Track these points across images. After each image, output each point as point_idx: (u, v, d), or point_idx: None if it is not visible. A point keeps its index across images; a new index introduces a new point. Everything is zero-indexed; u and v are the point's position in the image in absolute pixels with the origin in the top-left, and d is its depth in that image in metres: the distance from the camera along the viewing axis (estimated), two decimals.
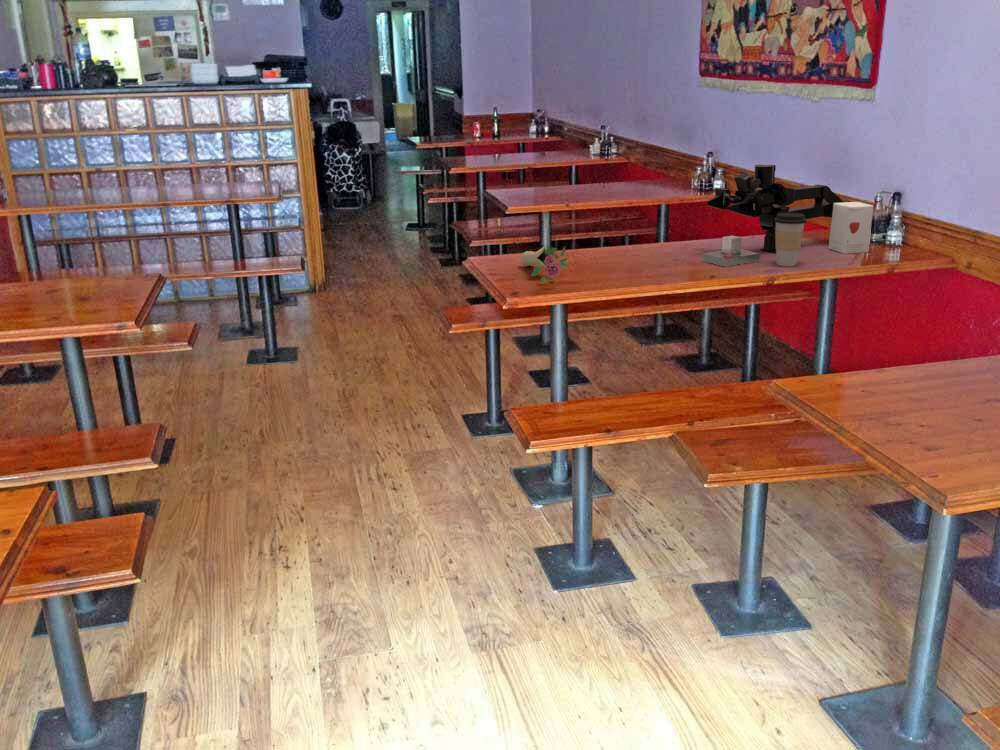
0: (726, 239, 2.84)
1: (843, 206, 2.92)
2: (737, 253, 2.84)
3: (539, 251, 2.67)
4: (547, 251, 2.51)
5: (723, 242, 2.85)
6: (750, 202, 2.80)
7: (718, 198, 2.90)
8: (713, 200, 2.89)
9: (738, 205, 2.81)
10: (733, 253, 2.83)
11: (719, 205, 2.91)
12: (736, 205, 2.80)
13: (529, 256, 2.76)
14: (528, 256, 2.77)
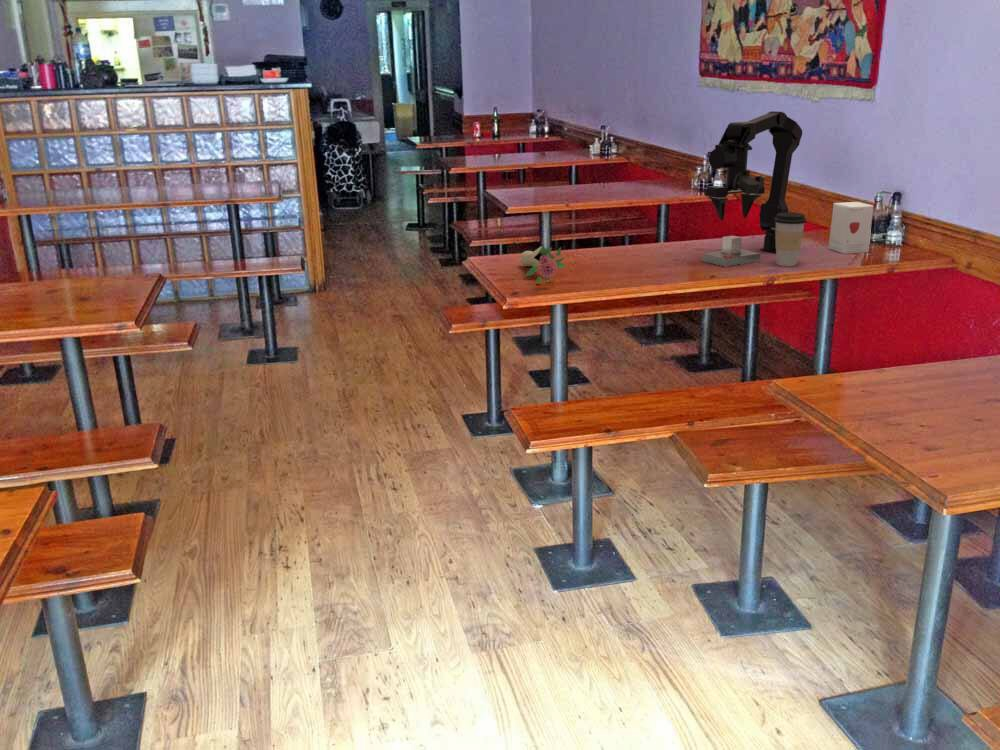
0: (726, 239, 2.84)
1: (843, 206, 2.92)
2: (737, 253, 2.84)
3: (536, 251, 2.67)
4: (542, 251, 2.52)
5: (723, 242, 2.85)
6: None
7: None
8: None
9: None
10: (733, 253, 2.83)
11: None
12: None
13: (528, 256, 2.77)
14: (527, 256, 2.78)
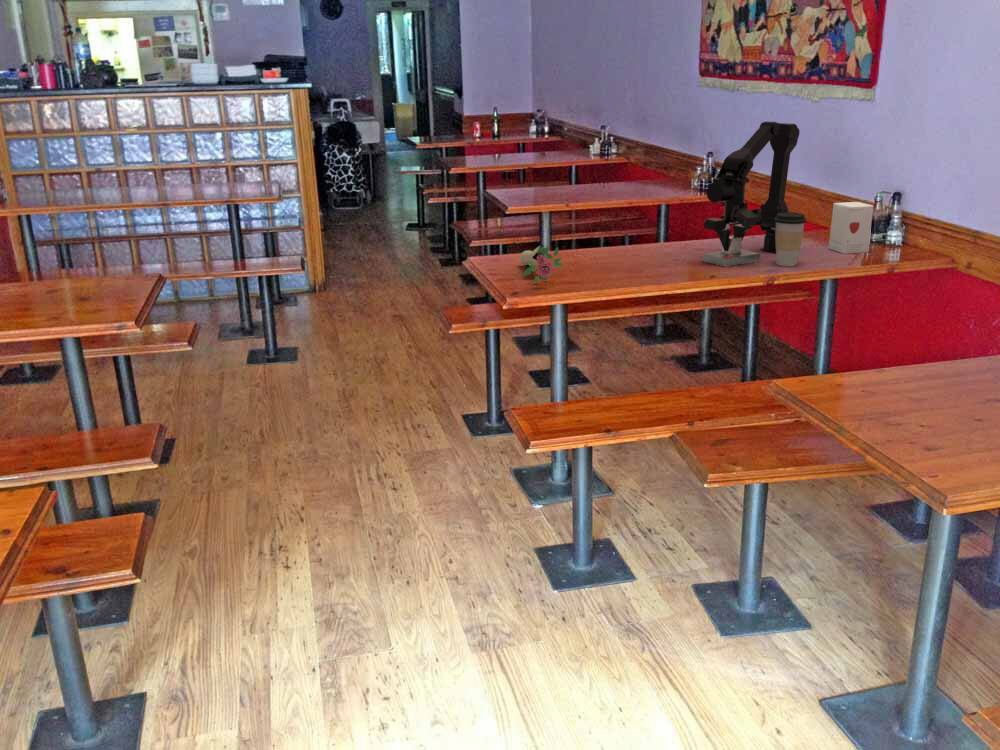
0: None
1: (843, 206, 2.92)
2: (737, 253, 2.84)
3: (534, 250, 2.67)
4: (539, 251, 2.52)
5: None
6: None
7: None
8: None
9: None
10: (733, 253, 2.83)
11: None
12: None
13: (527, 255, 2.77)
14: (526, 255, 2.78)
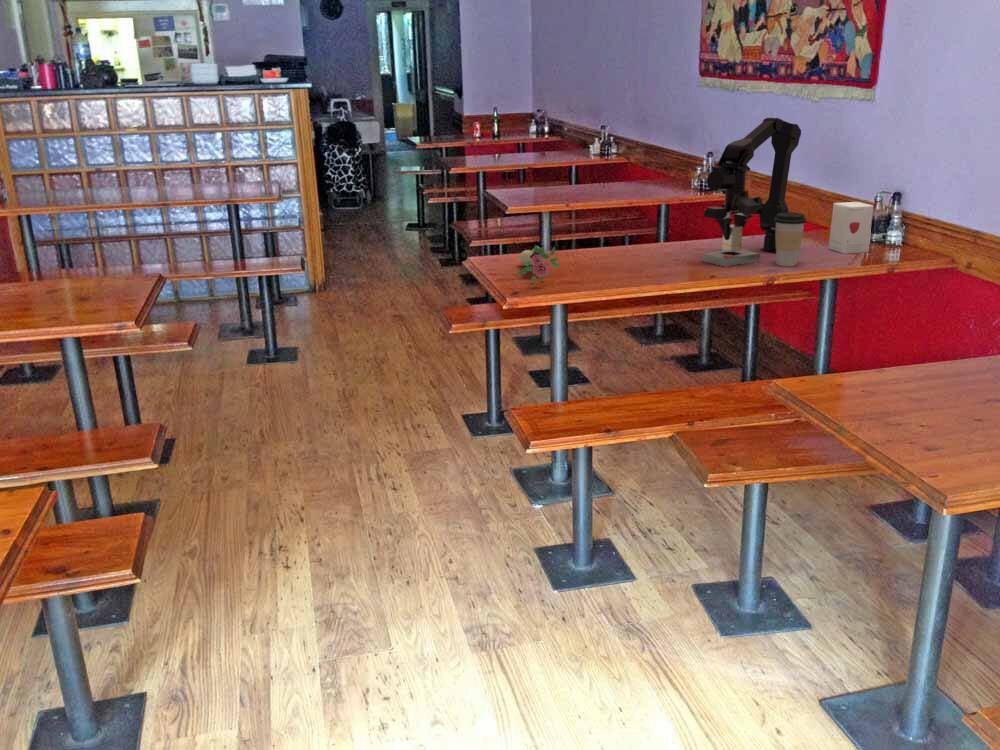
0: None
1: (843, 206, 2.92)
2: (738, 242, 2.83)
3: (532, 250, 2.68)
4: (534, 250, 2.53)
5: None
6: None
7: None
8: None
9: None
10: (734, 242, 2.82)
11: None
12: None
13: (526, 255, 2.78)
14: (525, 255, 2.79)
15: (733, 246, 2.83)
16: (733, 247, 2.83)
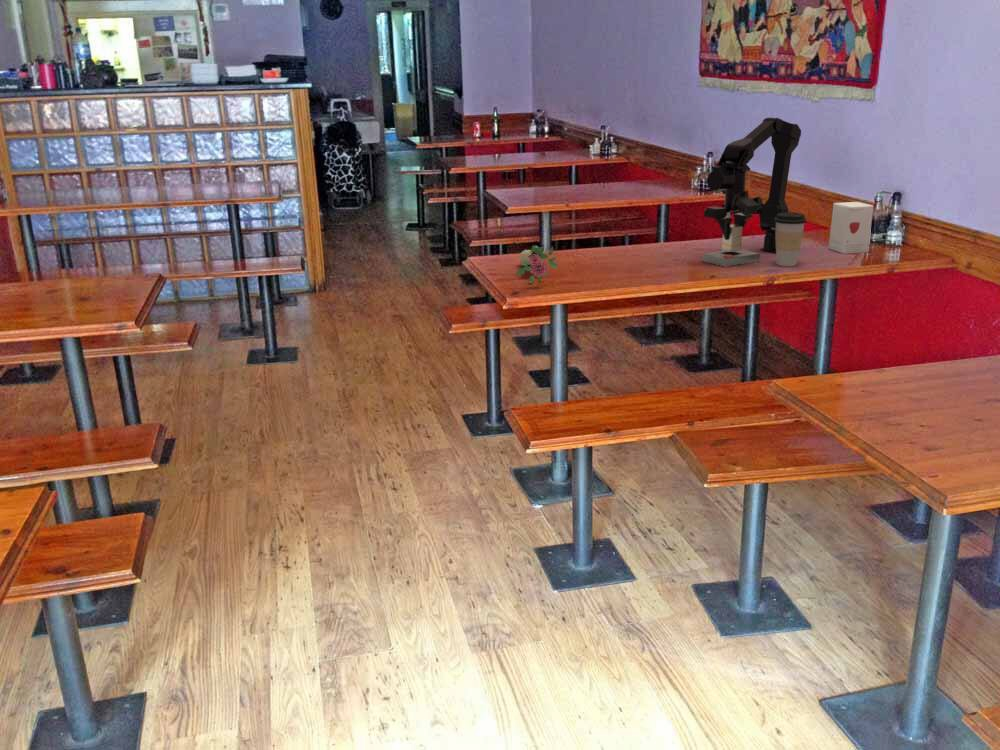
0: None
1: (843, 206, 2.92)
2: (738, 242, 2.83)
3: None
4: (532, 250, 2.53)
5: None
6: None
7: None
8: None
9: None
10: (734, 242, 2.82)
11: None
12: None
13: (525, 255, 2.78)
14: (524, 255, 2.79)
15: (733, 246, 2.83)
16: (733, 247, 2.83)
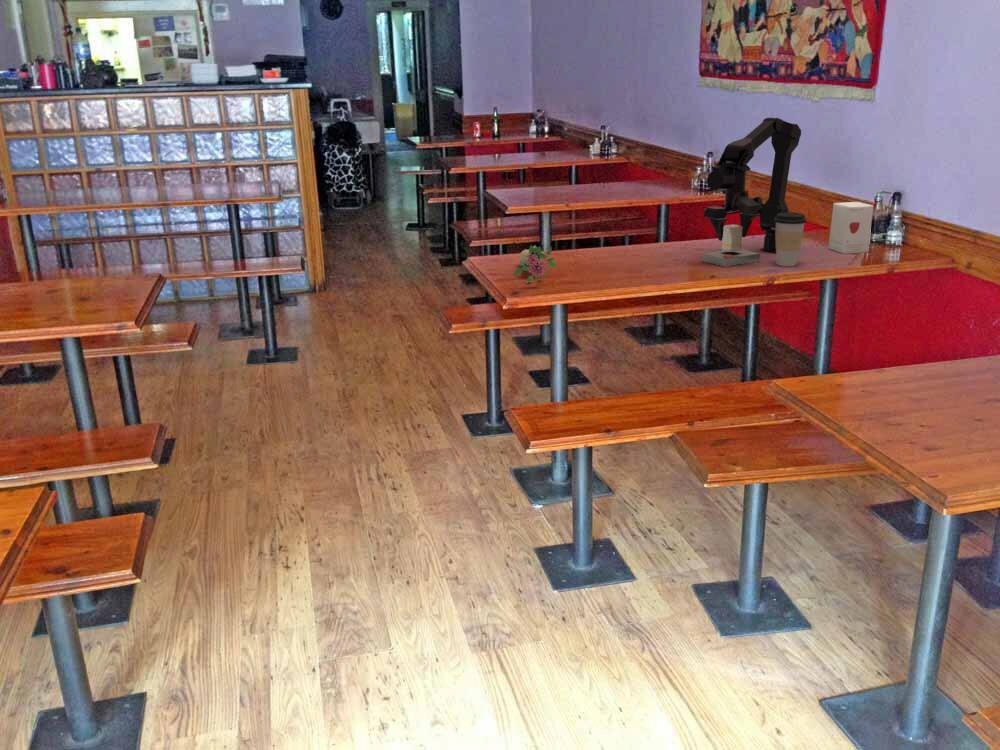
0: (727, 228, 2.82)
1: (843, 206, 2.92)
2: (738, 242, 2.83)
3: None
4: (530, 250, 2.53)
5: (724, 230, 2.84)
6: None
7: None
8: None
9: None
10: (734, 242, 2.82)
11: None
12: None
13: (524, 255, 2.78)
14: (524, 254, 2.79)
15: (733, 246, 2.83)
16: (733, 247, 2.83)
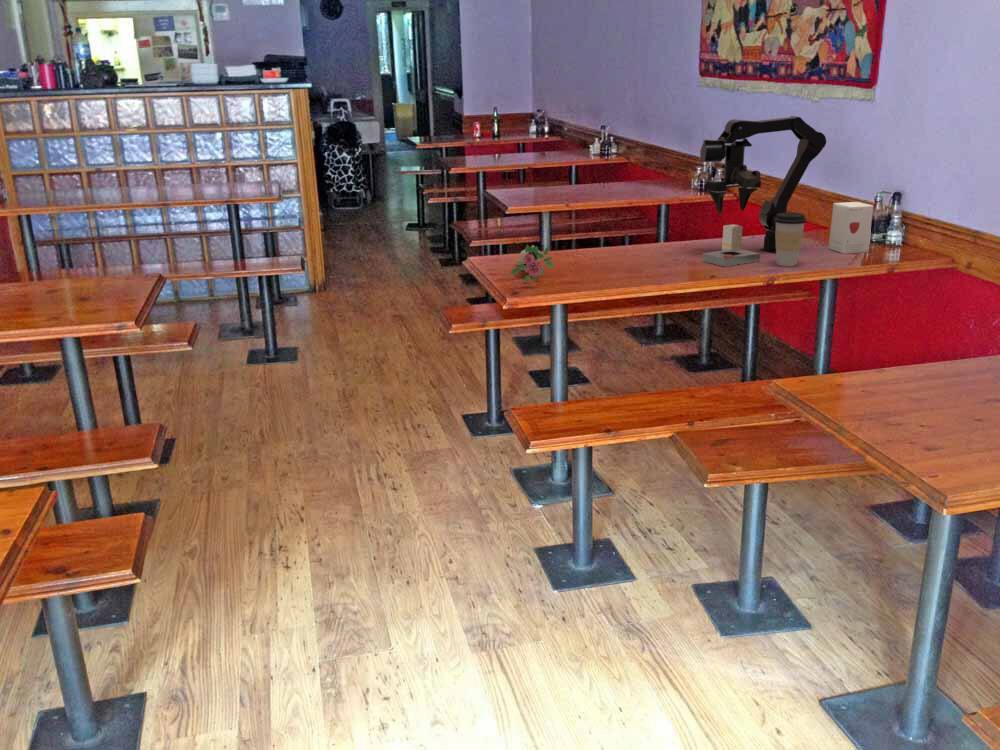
0: (727, 228, 2.82)
1: (843, 206, 2.92)
2: (738, 242, 2.83)
3: None
4: (526, 250, 2.54)
5: (724, 230, 2.84)
6: None
7: None
8: None
9: None
10: (734, 242, 2.82)
11: None
12: None
13: (524, 254, 2.79)
14: (523, 254, 2.80)
15: (733, 246, 2.83)
16: (733, 247, 2.83)
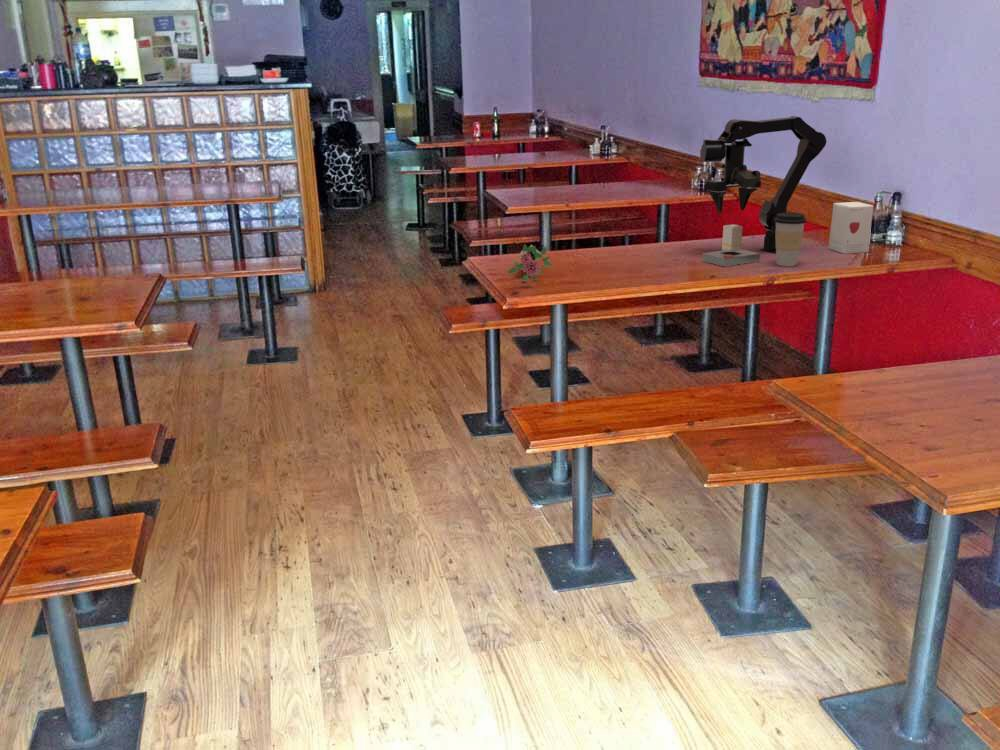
0: (727, 228, 2.82)
1: (843, 206, 2.92)
2: (738, 242, 2.83)
3: None
4: (524, 249, 2.54)
5: (724, 230, 2.84)
6: None
7: None
8: None
9: None
10: (734, 242, 2.82)
11: None
12: None
13: (523, 254, 2.79)
14: (522, 254, 2.80)
15: (733, 246, 2.83)
16: (733, 247, 2.83)
